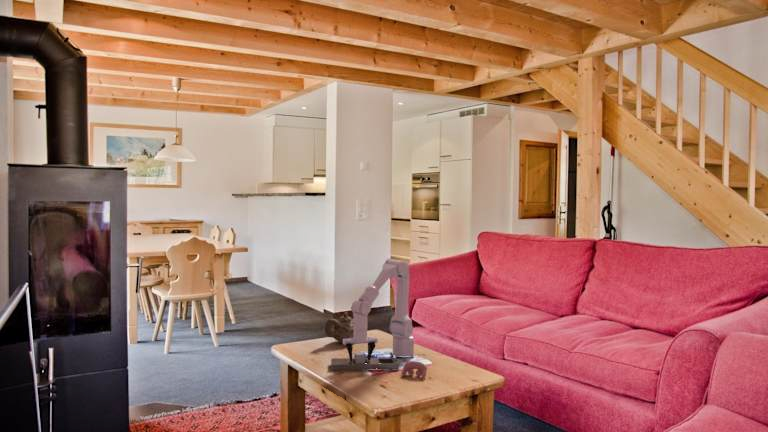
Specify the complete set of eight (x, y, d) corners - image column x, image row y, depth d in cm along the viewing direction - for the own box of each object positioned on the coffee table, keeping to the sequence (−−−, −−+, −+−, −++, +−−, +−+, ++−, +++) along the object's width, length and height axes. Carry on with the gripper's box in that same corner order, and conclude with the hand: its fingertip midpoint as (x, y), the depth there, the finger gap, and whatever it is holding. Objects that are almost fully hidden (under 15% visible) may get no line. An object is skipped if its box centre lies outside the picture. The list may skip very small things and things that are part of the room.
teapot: (354, 336, 280) (355, 307, 279) (369, 342, 271) (369, 311, 270) (319, 343, 266) (319, 312, 265) (332, 349, 257) (333, 317, 256)
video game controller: (426, 381, 224) (428, 363, 226) (424, 379, 220) (426, 361, 222) (403, 378, 227) (405, 360, 230) (400, 376, 223) (402, 358, 226)
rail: (396, 363, 240) (396, 357, 239) (398, 370, 232) (398, 364, 232) (331, 364, 237) (331, 358, 237) (331, 370, 229) (331, 364, 229)
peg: (363, 365, 237) (363, 351, 236) (365, 368, 233) (365, 354, 233) (354, 365, 236) (354, 351, 236) (355, 368, 232) (356, 354, 232)
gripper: (375, 325, 239) (374, 356, 240) (341, 326, 235) (341, 358, 236) (378, 329, 232) (378, 361, 233) (344, 331, 229) (344, 363, 229)
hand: (359, 360), depth 234 cm, fingers open, 7 cm apart
